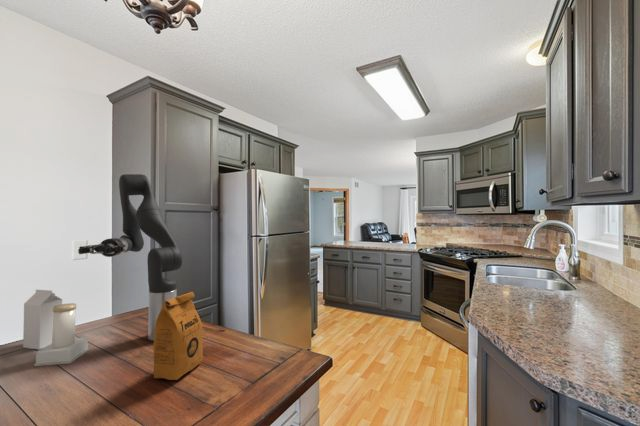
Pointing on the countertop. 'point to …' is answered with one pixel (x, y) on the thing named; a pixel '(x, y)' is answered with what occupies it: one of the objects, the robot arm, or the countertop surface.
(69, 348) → the riser
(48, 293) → the milk carton
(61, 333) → the jar
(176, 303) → the coffee package
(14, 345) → the countertop surface
